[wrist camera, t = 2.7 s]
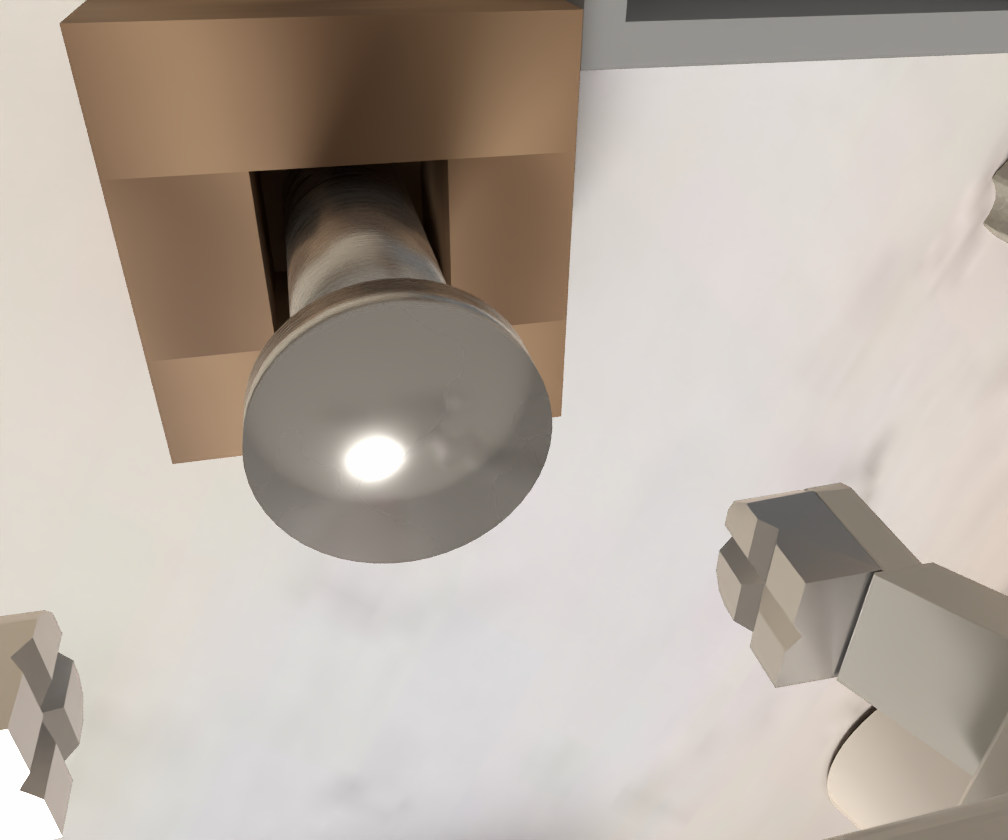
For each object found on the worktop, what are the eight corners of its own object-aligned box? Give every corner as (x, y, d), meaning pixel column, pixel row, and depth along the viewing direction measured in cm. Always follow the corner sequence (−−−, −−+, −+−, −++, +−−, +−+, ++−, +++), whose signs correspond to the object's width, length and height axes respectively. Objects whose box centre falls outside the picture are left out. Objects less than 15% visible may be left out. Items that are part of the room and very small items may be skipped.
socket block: (514, -26, 22) (583, 9, 18) (509, 317, 28) (561, 416, 23) (108, -19, 20) (59, 23, 16) (189, 348, 26) (172, 464, 21)
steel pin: (428, 96, 22) (559, 292, 12) (435, 268, 25) (546, 540, 15) (236, 104, 21) (215, 324, 11) (264, 282, 24) (267, 582, 14)
